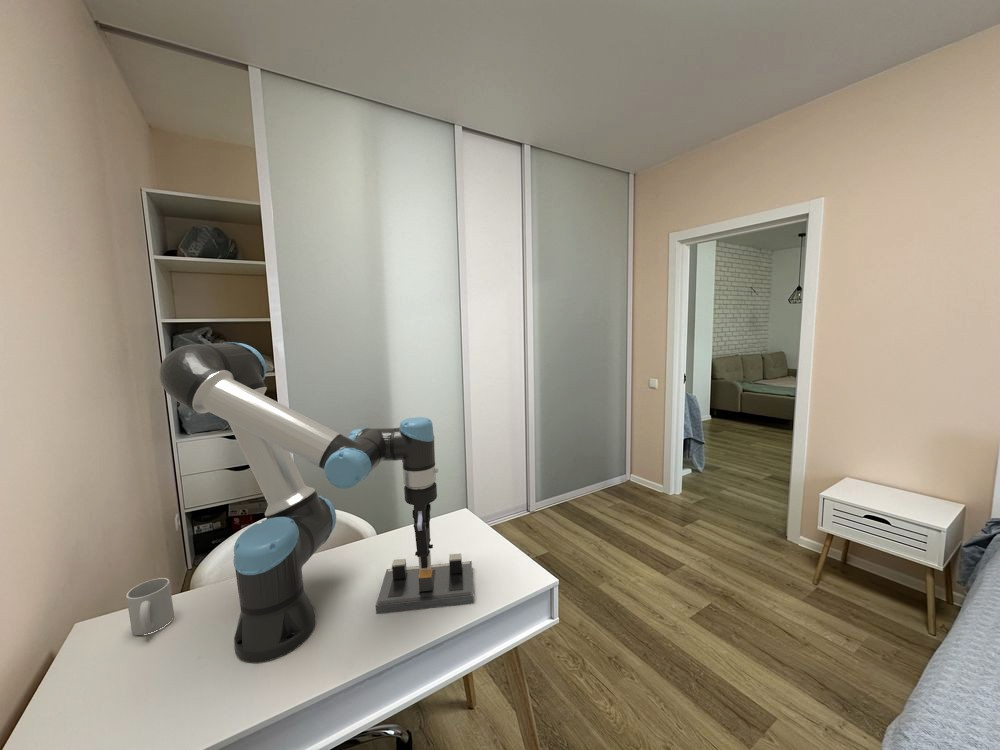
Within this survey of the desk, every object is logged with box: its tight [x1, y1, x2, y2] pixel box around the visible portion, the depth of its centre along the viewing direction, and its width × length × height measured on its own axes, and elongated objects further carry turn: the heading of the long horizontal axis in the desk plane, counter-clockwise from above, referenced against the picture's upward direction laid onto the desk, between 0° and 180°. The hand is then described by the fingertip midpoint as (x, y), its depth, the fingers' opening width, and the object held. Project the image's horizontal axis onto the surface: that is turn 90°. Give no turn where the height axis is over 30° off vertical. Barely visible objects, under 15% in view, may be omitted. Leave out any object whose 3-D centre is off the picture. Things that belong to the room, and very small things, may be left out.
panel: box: [375, 553, 475, 615], centre depth 98 cm, size 22×14×6 cm, turn 96°
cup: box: [125, 577, 175, 636], centre depth 88 cm, size 7×10×9 cm
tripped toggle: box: [418, 569, 433, 592], centre depth 95 cm, size 3×2×4 cm
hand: (425, 577), depth 97 cm, fingers closed
